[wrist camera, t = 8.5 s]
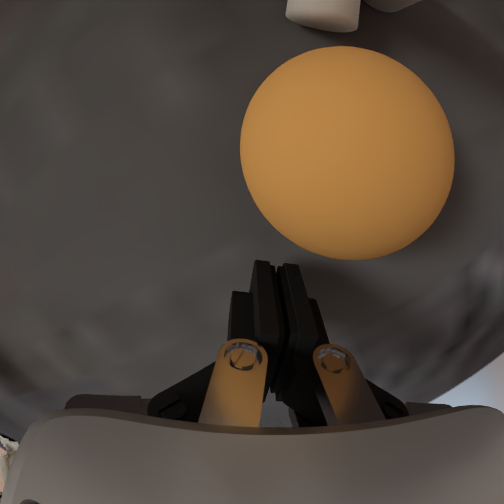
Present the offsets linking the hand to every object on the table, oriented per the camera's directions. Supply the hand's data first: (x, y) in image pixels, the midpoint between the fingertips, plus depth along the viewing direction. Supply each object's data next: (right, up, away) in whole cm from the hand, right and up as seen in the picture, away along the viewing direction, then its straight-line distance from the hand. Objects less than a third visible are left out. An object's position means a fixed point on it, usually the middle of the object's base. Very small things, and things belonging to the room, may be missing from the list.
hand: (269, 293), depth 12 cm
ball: (+2, +4, -4) cm, 6 cm away
